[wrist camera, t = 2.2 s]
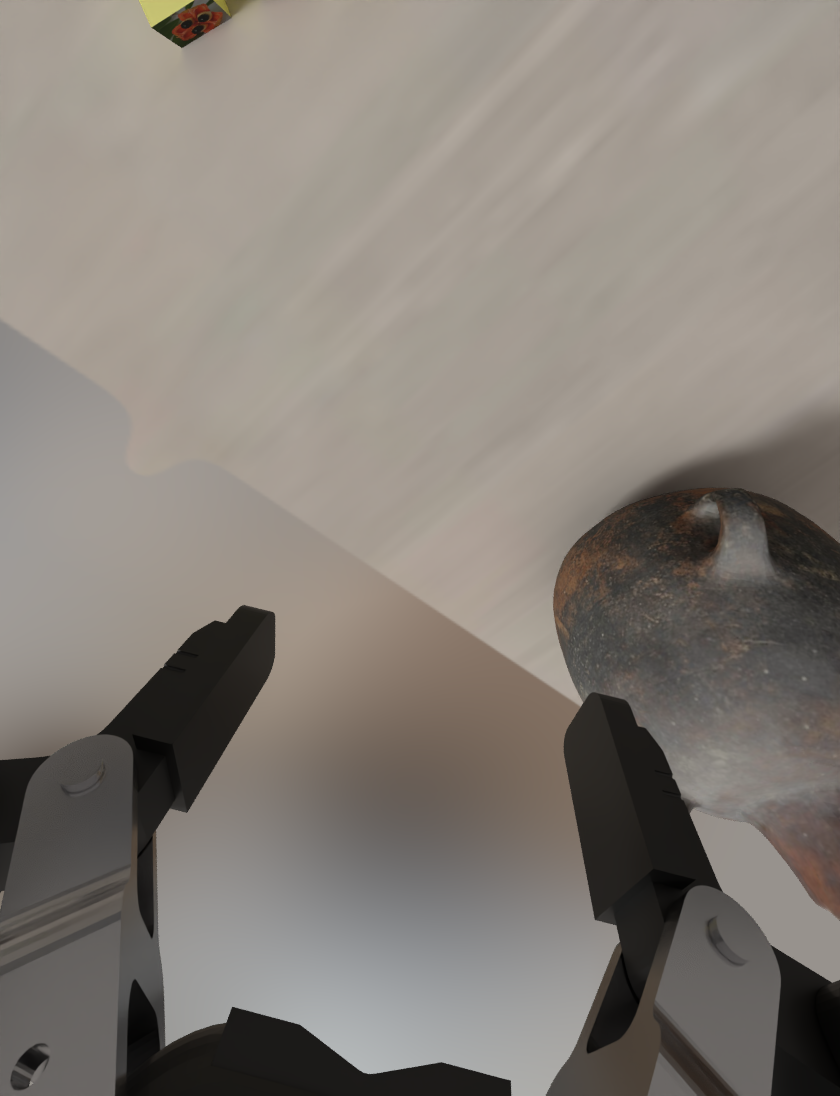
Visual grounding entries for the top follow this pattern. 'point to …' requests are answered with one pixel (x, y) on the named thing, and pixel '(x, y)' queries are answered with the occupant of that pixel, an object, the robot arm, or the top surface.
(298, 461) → the top surface
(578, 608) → the jug
